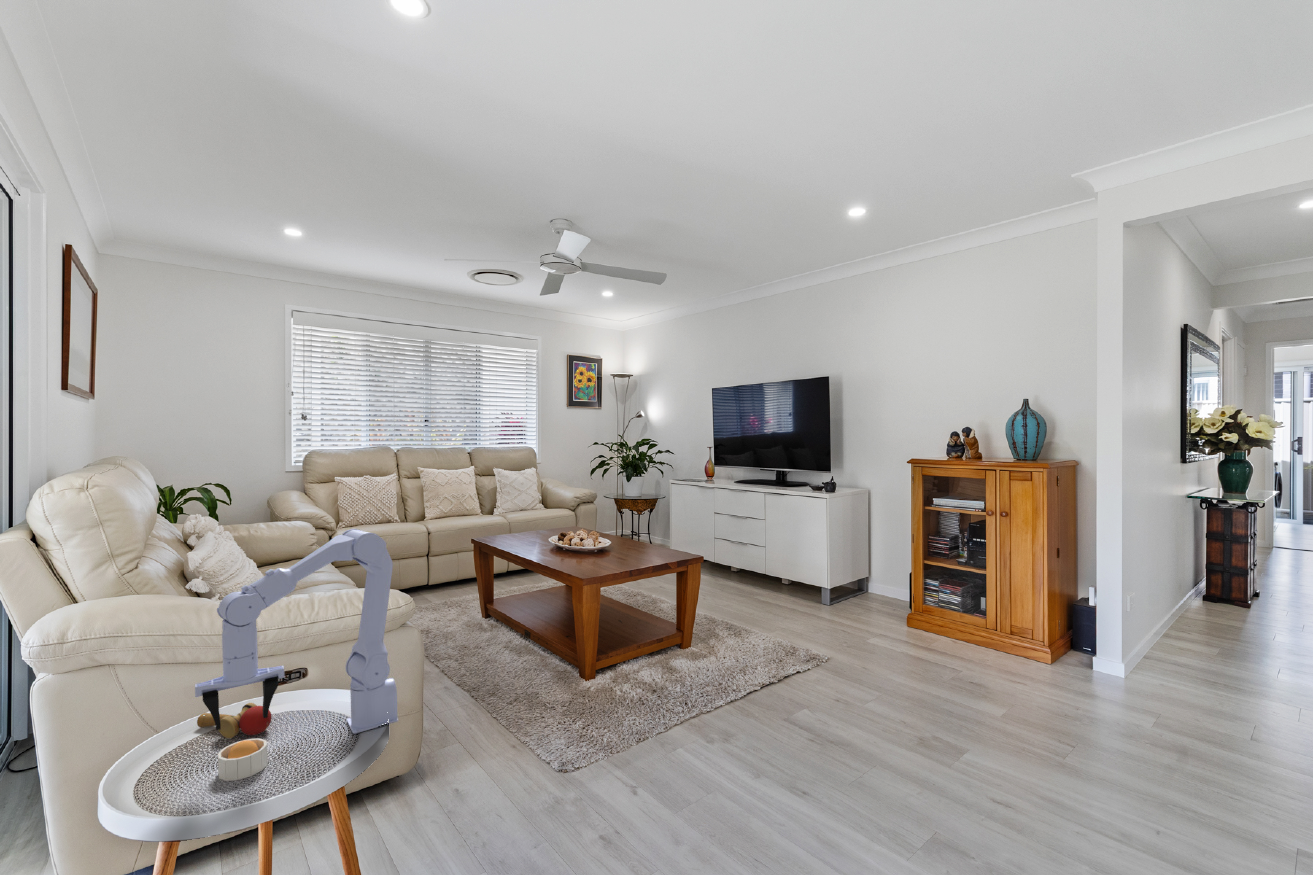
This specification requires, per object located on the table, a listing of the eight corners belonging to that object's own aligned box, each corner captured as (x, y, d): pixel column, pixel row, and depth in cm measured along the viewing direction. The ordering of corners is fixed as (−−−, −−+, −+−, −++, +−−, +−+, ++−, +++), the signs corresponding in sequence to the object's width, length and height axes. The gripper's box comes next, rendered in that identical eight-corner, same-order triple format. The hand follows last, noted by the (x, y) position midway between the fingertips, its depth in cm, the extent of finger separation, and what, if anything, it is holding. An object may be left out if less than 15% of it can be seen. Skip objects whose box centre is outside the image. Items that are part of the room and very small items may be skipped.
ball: (257, 757, 125) (257, 733, 124) (259, 768, 121) (259, 743, 120) (227, 765, 122) (227, 740, 121) (228, 776, 118) (228, 751, 117)
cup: (265, 753, 127) (265, 734, 127) (269, 770, 120) (268, 750, 120) (218, 766, 122) (217, 747, 122) (219, 785, 115) (218, 764, 115)
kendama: (184, 742, 134) (249, 740, 130) (185, 711, 136) (250, 708, 131) (217, 731, 142) (280, 729, 138) (218, 703, 143) (280, 699, 139)
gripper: (281, 640, 128) (282, 704, 128) (194, 656, 120) (196, 725, 120) (284, 649, 123) (286, 716, 123) (194, 667, 114) (196, 739, 114)
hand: (242, 721), depth 121 cm, fingers open, 7 cm apart
